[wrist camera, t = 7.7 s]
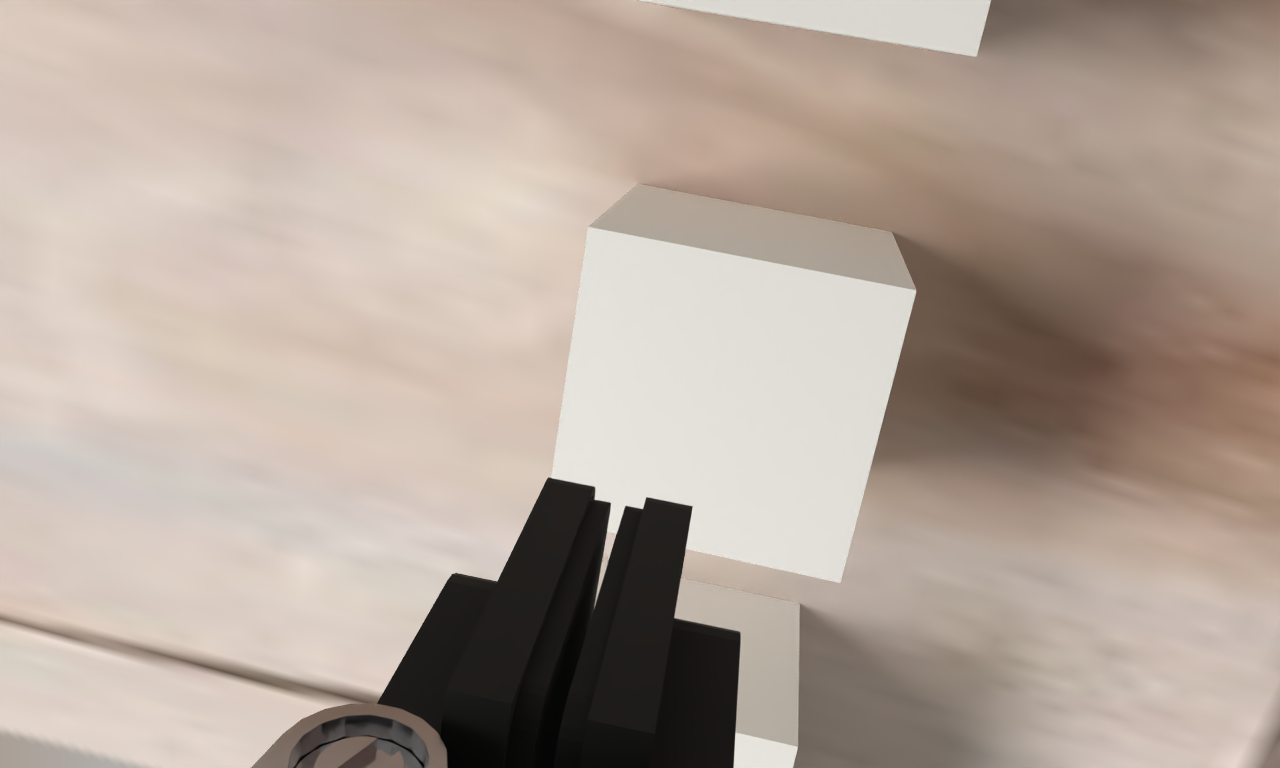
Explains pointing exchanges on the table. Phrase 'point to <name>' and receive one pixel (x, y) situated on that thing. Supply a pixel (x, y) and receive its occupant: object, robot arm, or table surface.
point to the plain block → (734, 372)
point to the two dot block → (865, 19)
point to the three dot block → (754, 666)
